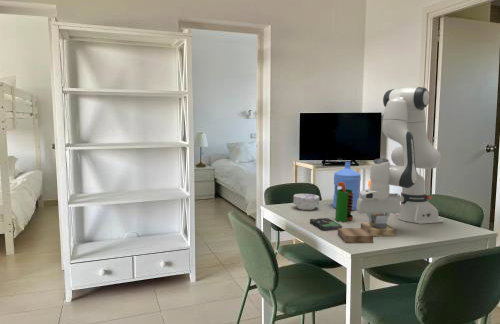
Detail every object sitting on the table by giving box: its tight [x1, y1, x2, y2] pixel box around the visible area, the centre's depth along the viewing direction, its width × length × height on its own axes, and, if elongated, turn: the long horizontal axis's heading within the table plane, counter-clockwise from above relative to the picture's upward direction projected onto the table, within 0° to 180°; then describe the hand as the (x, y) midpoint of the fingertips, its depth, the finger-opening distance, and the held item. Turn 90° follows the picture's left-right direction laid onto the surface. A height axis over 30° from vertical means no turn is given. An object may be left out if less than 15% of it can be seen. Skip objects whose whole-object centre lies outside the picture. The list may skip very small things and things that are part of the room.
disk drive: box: [309, 217, 343, 232], centre depth 188 cm, size 10×3×15 cm
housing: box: [368, 213, 388, 229], centre depth 178 cm, size 5×8×6 cm, turn 3°
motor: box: [334, 182, 354, 223], centre depth 200 cm, size 10×9×20 cm
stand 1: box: [337, 227, 374, 244], centre depth 169 cm, size 12×12×3 cm
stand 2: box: [360, 222, 396, 237], centre depth 179 cm, size 12×12×3 cm
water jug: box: [332, 161, 362, 211], centre depth 228 cm, size 16×16×28 cm
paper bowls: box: [292, 193, 320, 211], centre depth 226 cm, size 15×15×8 cm
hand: (377, 222), depth 178 cm, fingers closed on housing, 5 cm apart
